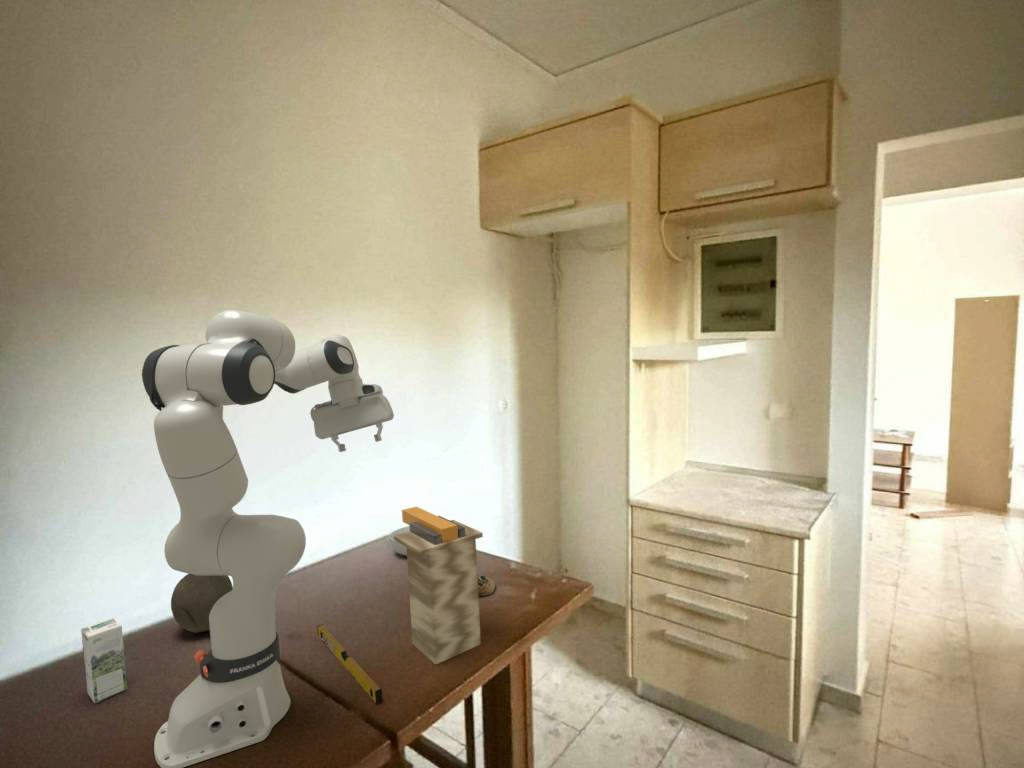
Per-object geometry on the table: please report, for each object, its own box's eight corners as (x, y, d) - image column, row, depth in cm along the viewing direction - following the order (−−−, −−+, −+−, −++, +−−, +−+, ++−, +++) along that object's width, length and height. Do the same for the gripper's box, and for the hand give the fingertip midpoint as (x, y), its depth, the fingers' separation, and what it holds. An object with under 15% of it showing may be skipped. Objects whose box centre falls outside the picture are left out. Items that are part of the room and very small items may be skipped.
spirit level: (382, 703, 103) (381, 688, 103) (376, 706, 102) (375, 691, 102) (323, 635, 129) (322, 623, 129) (318, 637, 128) (317, 625, 128)
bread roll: (449, 594, 147) (450, 576, 147) (469, 583, 157) (470, 566, 157) (484, 603, 142) (485, 584, 142) (502, 590, 152) (503, 573, 153)
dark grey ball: (247, 622, 137) (242, 566, 136) (189, 649, 125) (184, 588, 124) (219, 609, 145) (215, 556, 144) (162, 633, 133) (157, 576, 132)
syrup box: (120, 680, 114) (113, 615, 113) (128, 690, 110) (121, 623, 109) (87, 694, 110) (80, 627, 109) (94, 705, 106) (87, 636, 105)
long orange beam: (442, 542, 116) (441, 529, 116) (402, 521, 132) (401, 510, 132) (458, 538, 118) (457, 525, 118) (416, 518, 134) (416, 506, 134)
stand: (427, 668, 113) (419, 542, 111) (400, 643, 123) (393, 527, 122) (487, 640, 123) (482, 524, 121) (458, 619, 133) (452, 512, 131)
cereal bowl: (425, 539, 192) (423, 520, 191) (449, 551, 179) (448, 531, 178) (382, 552, 181) (380, 532, 180) (405, 566, 168) (403, 545, 168)
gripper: (305, 404, 134) (317, 456, 132) (383, 383, 137) (397, 434, 134) (312, 408, 140) (324, 458, 138) (387, 387, 143) (400, 436, 140)
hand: (360, 446), depth 136 cm, fingers open, 8 cm apart
